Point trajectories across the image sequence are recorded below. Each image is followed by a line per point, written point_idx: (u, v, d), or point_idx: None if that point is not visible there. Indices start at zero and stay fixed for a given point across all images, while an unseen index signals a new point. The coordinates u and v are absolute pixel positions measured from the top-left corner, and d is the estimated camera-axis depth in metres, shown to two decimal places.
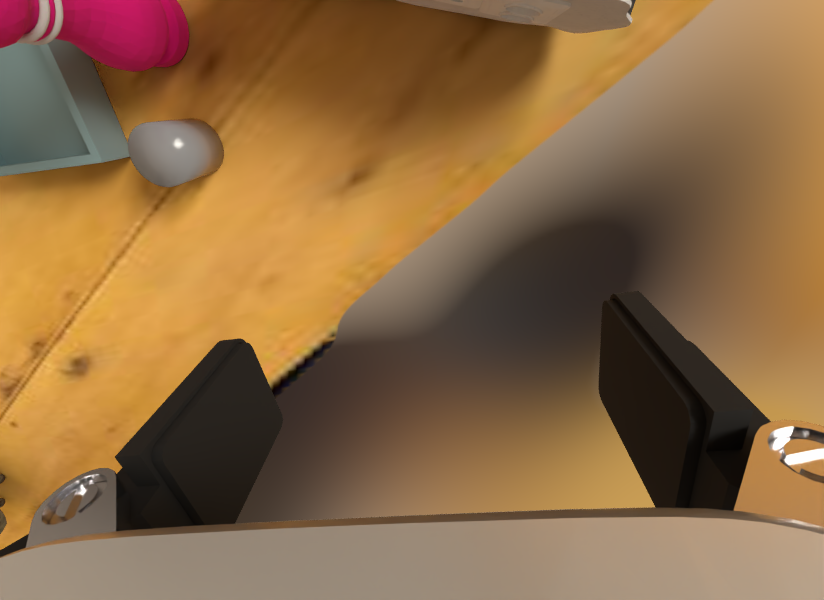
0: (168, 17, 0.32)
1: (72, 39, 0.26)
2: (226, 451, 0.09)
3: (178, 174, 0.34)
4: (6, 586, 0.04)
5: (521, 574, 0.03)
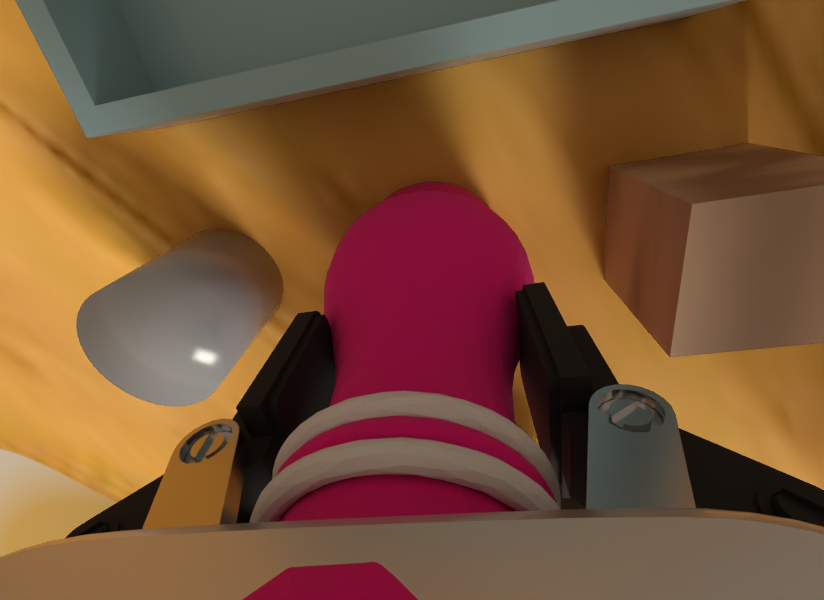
0: None
1: None
2: (315, 412, 0.10)
3: (125, 380, 0.15)
4: (7, 585, 0.04)
5: (521, 574, 0.03)
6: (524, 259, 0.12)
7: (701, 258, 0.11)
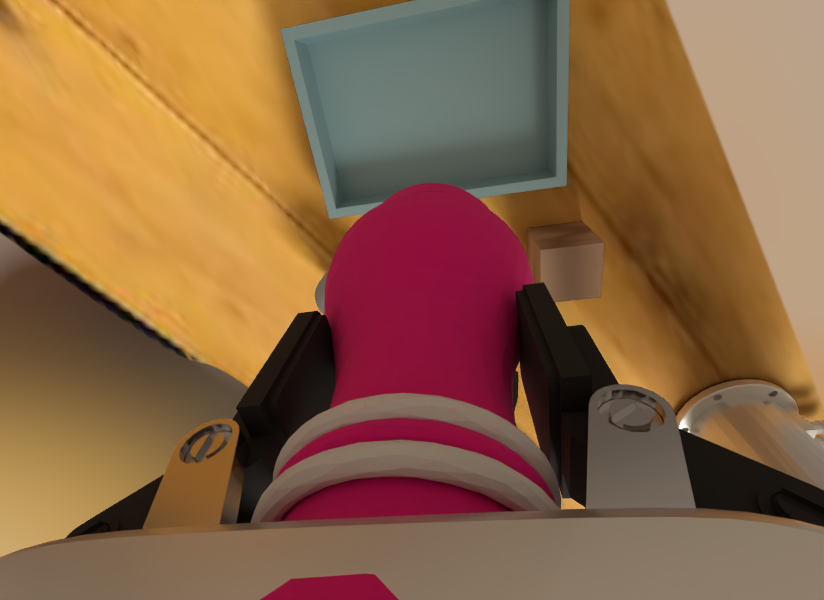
0: None
1: None
2: (316, 412, 0.10)
3: None
4: (7, 585, 0.04)
5: (521, 575, 0.03)
6: (524, 260, 0.12)
7: (546, 267, 0.33)
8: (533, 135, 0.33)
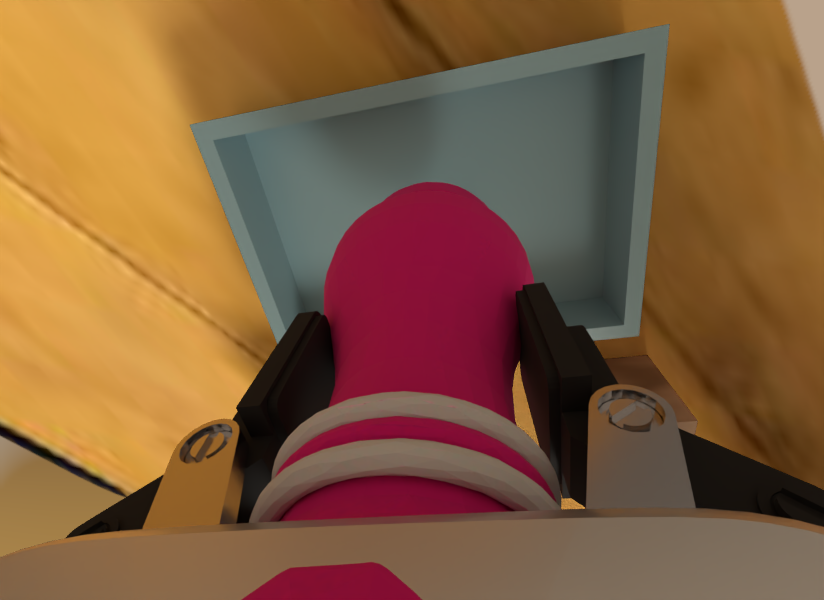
0: None
1: None
2: (315, 412, 0.10)
3: None
4: (5, 586, 0.04)
5: (521, 574, 0.03)
6: (524, 259, 0.12)
7: None
8: (584, 253, 0.22)
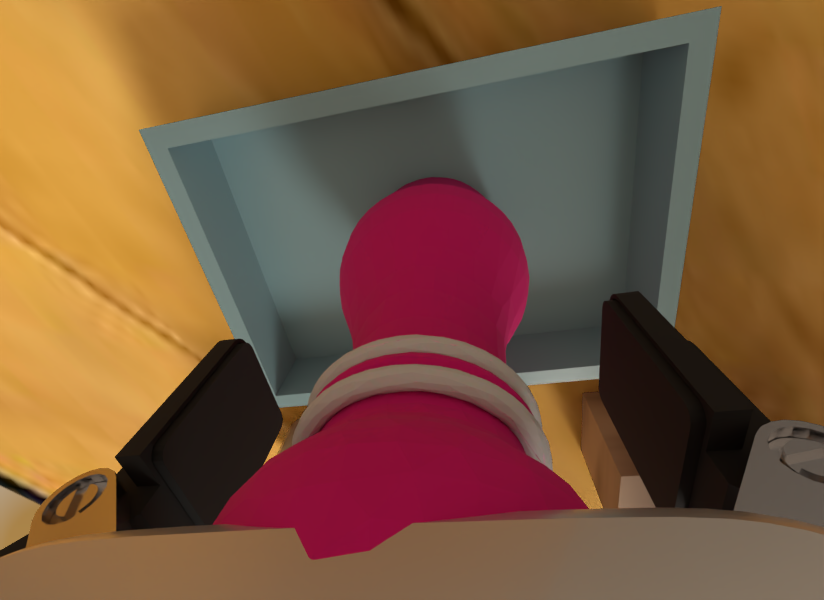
0: None
1: None
2: (226, 451, 0.09)
3: None
4: (6, 586, 0.04)
5: (521, 576, 0.03)
6: (518, 244, 0.14)
7: (628, 498, 0.20)
8: (603, 275, 0.20)
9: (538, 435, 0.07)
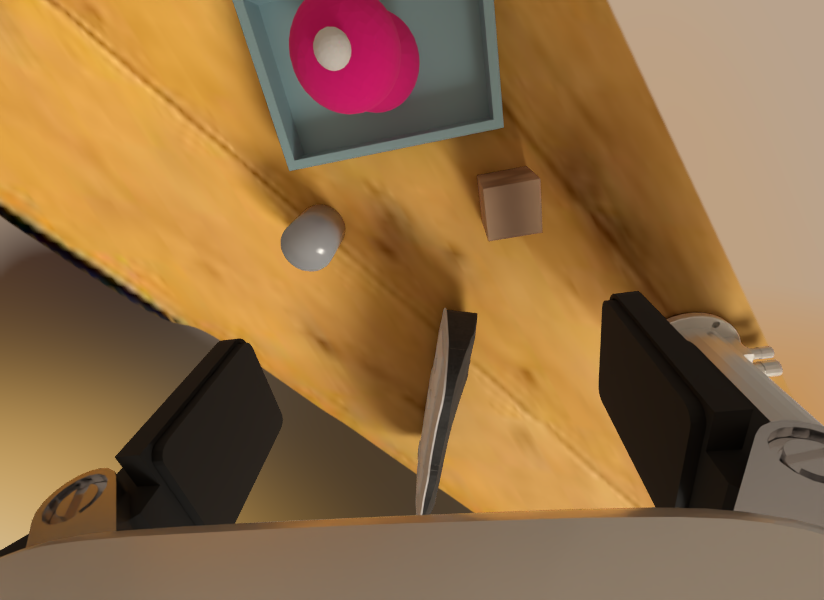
0: None
1: None
2: (226, 451, 0.09)
3: (295, 260, 0.39)
4: (6, 586, 0.04)
5: (521, 574, 0.03)
6: (409, 32, 0.30)
7: (489, 206, 0.36)
8: (473, 83, 0.36)
9: None
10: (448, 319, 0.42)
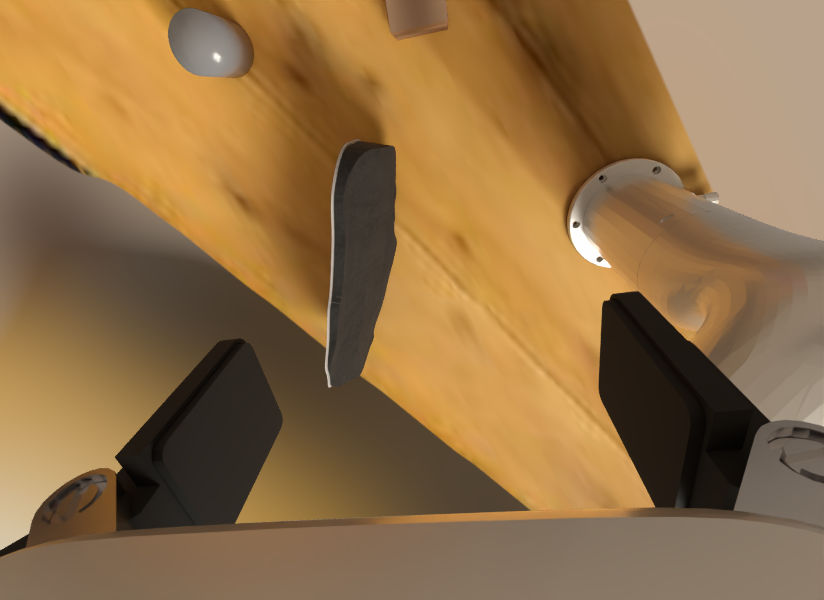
0: None
1: None
2: (226, 451, 0.09)
3: (185, 61, 0.36)
4: (6, 586, 0.04)
5: (521, 575, 0.03)
6: None
7: None
8: None
9: None
10: (357, 142, 0.39)
